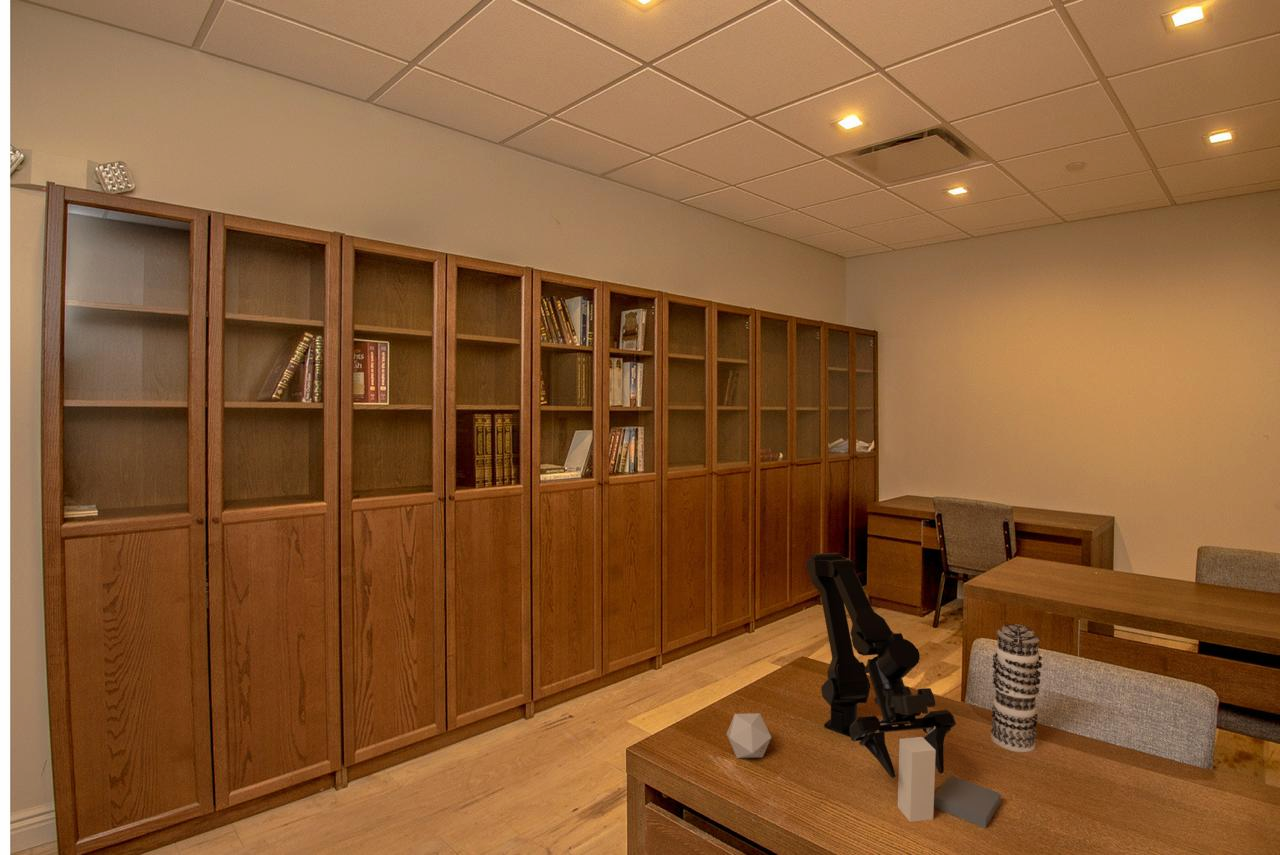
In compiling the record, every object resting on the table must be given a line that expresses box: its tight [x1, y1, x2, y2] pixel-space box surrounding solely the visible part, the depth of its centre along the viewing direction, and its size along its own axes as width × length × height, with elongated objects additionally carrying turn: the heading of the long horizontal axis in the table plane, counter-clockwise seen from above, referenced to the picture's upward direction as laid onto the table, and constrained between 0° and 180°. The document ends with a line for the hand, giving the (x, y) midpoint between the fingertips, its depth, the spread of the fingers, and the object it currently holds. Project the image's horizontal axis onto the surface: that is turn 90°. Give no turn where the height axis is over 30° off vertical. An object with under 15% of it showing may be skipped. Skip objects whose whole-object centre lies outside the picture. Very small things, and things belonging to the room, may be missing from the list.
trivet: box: [934, 774, 1002, 829], centre depth 129 cm, size 9×9×2 cm
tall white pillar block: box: [897, 736, 936, 823], centre depth 127 cm, size 4×4×13 cm
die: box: [726, 712, 772, 759], centre depth 147 cm, size 8×9×10 cm
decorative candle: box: [990, 623, 1043, 753], centre depth 149 cm, size 9×9×25 cm
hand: (917, 775), depth 126 cm, fingers open, 9 cm apart
